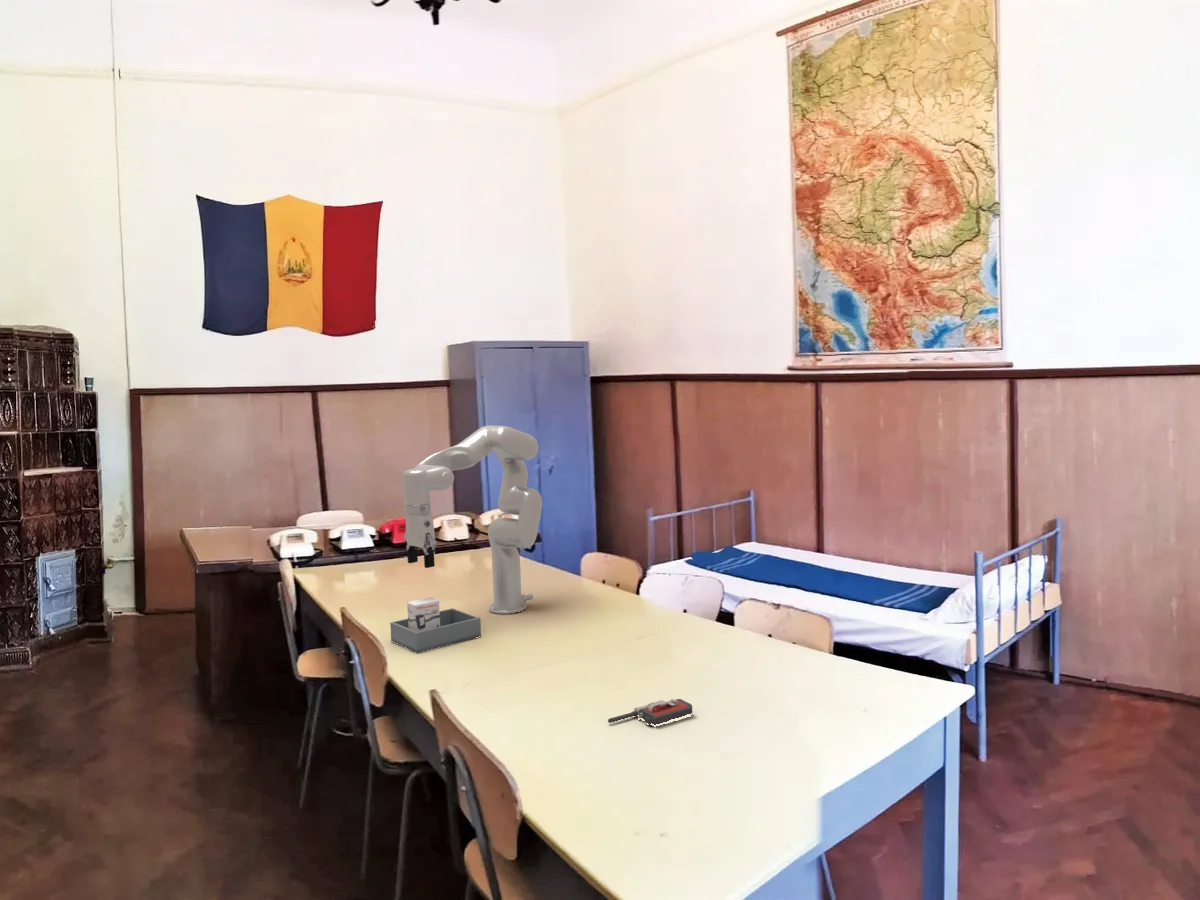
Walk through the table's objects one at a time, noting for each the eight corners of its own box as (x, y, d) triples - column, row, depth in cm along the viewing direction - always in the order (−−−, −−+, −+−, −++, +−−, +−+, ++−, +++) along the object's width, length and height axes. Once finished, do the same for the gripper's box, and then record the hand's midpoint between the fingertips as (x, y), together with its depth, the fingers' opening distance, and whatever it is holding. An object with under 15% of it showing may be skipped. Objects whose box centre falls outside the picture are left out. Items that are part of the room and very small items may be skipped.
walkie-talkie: (675, 705, 210) (605, 725, 200) (675, 688, 210) (605, 706, 199) (698, 717, 203) (627, 738, 192) (698, 699, 202) (626, 719, 192)
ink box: (415, 643, 260) (413, 604, 259) (408, 639, 264) (406, 601, 263) (441, 638, 265) (439, 600, 264) (434, 634, 269) (432, 596, 268)
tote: (453, 626, 280) (452, 608, 280) (481, 637, 268) (480, 617, 268) (391, 641, 266) (390, 622, 265) (417, 653, 254) (416, 633, 253)
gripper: (444, 510, 261) (447, 566, 263) (414, 505, 274) (417, 558, 276) (422, 514, 256) (425, 571, 258) (392, 508, 269) (396, 563, 271)
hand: (421, 564), depth 267 cm, fingers open, 9 cm apart
